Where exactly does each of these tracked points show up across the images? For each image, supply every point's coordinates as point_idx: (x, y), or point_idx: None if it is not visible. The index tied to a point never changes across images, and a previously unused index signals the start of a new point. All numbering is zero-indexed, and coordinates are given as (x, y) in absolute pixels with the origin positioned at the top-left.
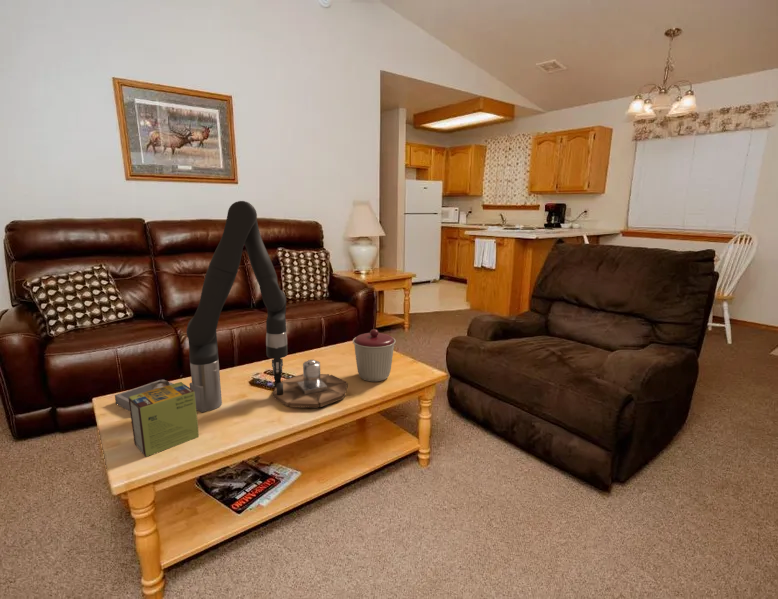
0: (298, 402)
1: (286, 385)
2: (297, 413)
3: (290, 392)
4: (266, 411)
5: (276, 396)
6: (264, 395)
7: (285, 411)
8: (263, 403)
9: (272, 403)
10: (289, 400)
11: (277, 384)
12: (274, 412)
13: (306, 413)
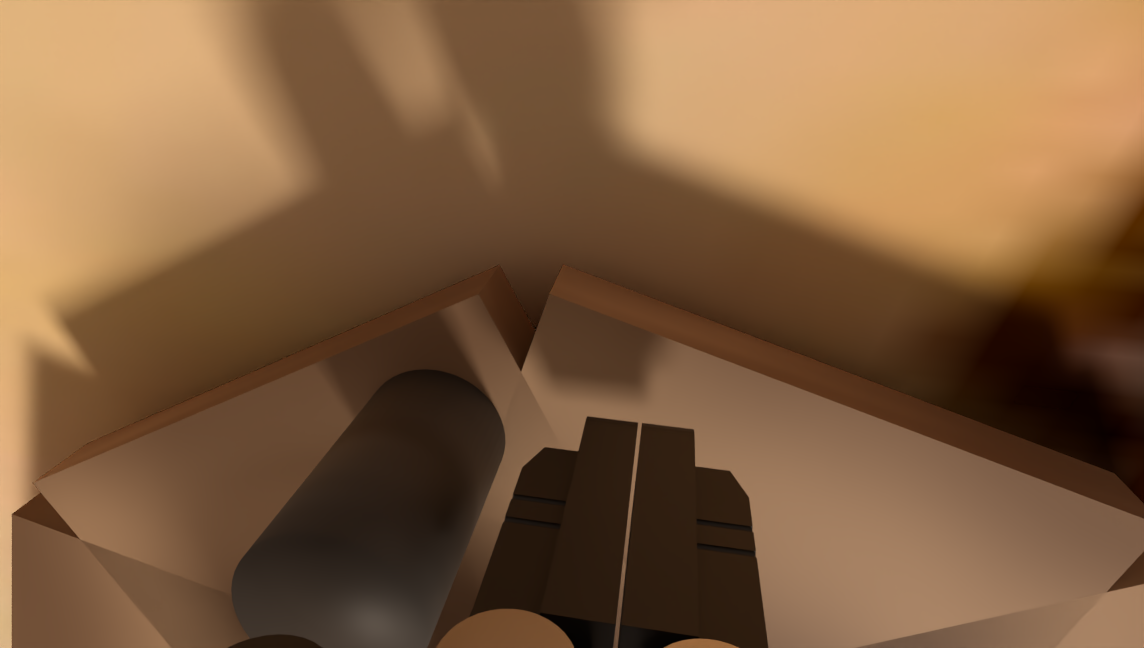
0: (47, 629)
1: (846, 610)
2: (4, 511)
3: (455, 607)
4: (61, 80)
5: (342, 349)
6: (824, 81)
7: (60, 380)
8: (408, 37)
9: (373, 218)
10: (124, 531)
11: (300, 560)
12: (26, 217)
13: (8, 599)
